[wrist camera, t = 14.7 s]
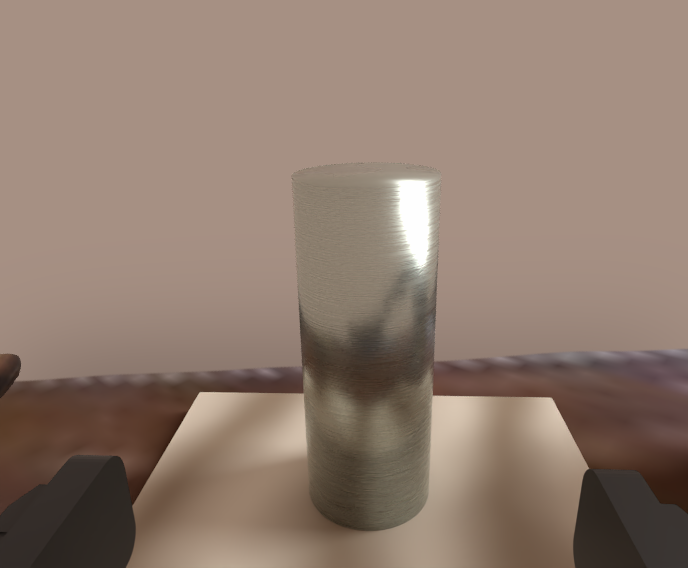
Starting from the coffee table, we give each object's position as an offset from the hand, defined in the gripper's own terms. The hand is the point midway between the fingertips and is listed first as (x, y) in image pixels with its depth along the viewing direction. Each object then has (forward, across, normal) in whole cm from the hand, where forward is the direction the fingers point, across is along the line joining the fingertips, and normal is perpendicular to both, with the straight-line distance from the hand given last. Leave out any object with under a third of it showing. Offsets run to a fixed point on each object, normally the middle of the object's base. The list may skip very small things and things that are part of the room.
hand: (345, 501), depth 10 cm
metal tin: (+11, 0, +9) cm, 14 cm away
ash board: (+11, 0, +10) cm, 15 cm away
